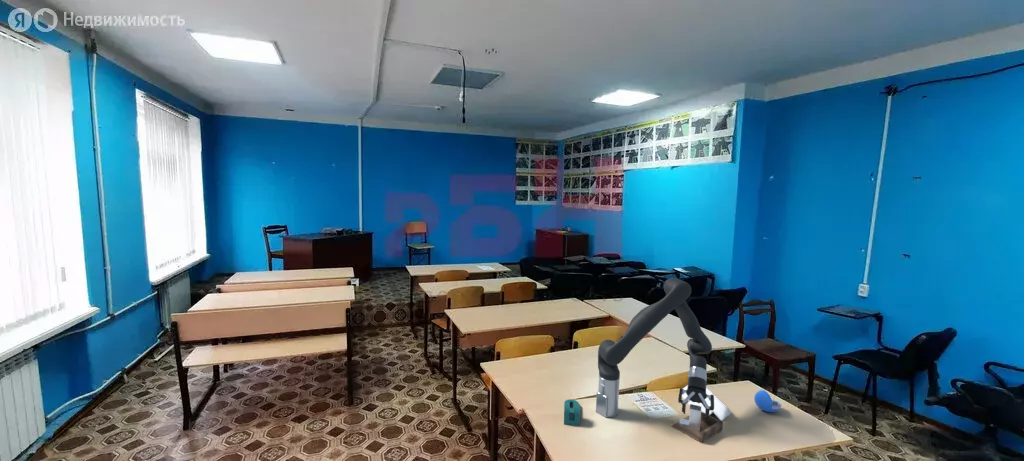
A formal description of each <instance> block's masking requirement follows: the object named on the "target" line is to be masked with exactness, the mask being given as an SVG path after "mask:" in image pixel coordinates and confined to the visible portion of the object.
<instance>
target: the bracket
mask: <svg viewBox="0 0 1024 461" xmlns="http://www.w3.org/2000/svg"><path fill="white" fill-rule="evenodd" d="M563 406H564V407H563V425H567V426H575V427H577V426H578V427H580V422H581V404H580V402H579V401H578V400H575V399H570V398H569V399H566V400H565V401H564V405H563ZM570 406H572V407H573V408H572V407H570Z"/></svg>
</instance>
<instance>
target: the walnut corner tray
mask: <svg viewBox="0 0 1024 461" xmlns="http://www.w3.org/2000/svg"><path fill="white" fill-rule="evenodd" d="M683 419H686V420H689V415H688V416H686V417H684V418H683ZM670 425H671V426H670V427H672V428H674V429H676V430H677V431H679V432H681V433H682V434H684V435H686V436H688V437H690V438H691V439H693V440H695V441H697V442H699V443H700V444H703V443H705V442H706V441H708V440H709V439H711V438H713V437H714V436H716V435H718V434H719V433H722V432H723V425H724V422H723V421H720V420H719V419H718V418H717V417H714V416H711V415H709V418H707V419H705V413H704V412H702V411H701V421H700V431H696V430H692V429H688V428H684V427H680V426H679V425H680V420H678V421H677V422H674V423H672V424H670Z"/></svg>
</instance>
